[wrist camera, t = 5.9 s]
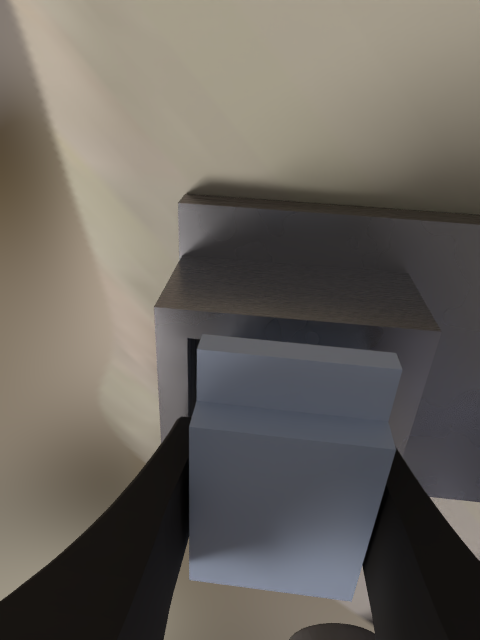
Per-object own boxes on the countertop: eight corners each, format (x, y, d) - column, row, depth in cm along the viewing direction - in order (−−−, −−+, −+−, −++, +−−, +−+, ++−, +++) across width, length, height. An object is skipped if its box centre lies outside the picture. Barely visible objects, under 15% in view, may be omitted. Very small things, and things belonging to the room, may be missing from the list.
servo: (328, 485, 16) (341, 637, 12) (217, 472, 16) (189, 616, 12) (370, 281, 12) (411, 395, 8) (224, 269, 13) (189, 372, 8)
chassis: (550, 490, 19) (618, 600, 15) (188, 452, 19) (164, 547, 16) (698, 230, 13) (865, 299, 9) (185, 194, 14) (146, 243, 10)
